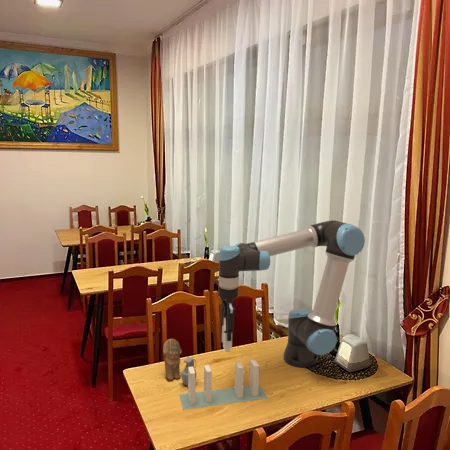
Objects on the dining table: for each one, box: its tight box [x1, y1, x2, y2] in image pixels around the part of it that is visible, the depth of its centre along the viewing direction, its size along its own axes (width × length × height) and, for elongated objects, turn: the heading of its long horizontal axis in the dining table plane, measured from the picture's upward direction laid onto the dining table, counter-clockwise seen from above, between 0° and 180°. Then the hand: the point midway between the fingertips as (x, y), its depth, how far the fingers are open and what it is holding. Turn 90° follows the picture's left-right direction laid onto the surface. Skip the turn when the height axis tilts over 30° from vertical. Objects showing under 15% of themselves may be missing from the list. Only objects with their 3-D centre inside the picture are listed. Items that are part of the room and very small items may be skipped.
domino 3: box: [222, 317, 231, 353], centre depth 163 cm, size 2×5×12 cm, turn 12°
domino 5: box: [249, 359, 260, 396], centre depth 160 cm, size 2×5×12 cm, turn 14°
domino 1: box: [187, 367, 196, 405], centre depth 155 cm, size 2×5×12 cm, turn 14°
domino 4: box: [234, 360, 244, 398], centre depth 159 cm, size 2×5×12 cm, turn 14°
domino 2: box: [203, 364, 213, 402], centre depth 156 cm, size 2×5×12 cm, turn 14°
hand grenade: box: [180, 356, 197, 387], centre depth 167 cm, size 6×6×11 cm
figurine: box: [162, 338, 182, 381], centre depth 173 cm, size 8×8×15 cm
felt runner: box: [178, 383, 269, 411], centre depth 158 cm, size 32×10×1 cm, turn 104°
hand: (226, 344), depth 164 cm, fingers closed on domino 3, 5 cm apart
